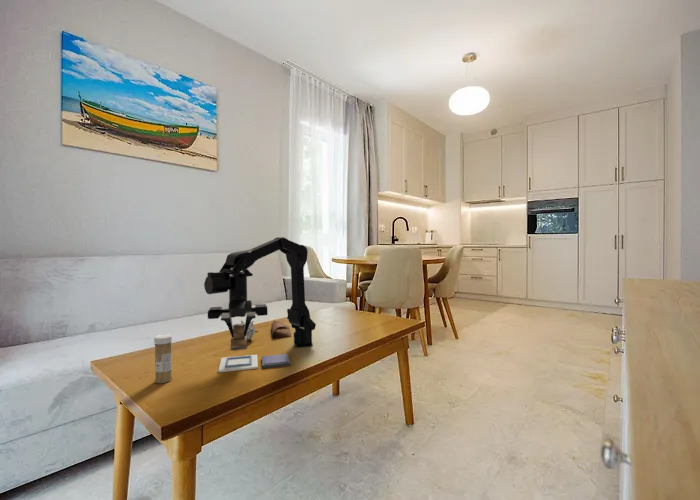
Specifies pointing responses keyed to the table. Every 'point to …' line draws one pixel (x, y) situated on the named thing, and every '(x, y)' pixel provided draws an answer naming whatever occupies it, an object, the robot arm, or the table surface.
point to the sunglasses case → (280, 330)
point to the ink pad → (275, 361)
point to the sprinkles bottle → (163, 358)
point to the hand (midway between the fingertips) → (238, 336)
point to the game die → (249, 330)
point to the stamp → (238, 338)
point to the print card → (238, 363)
